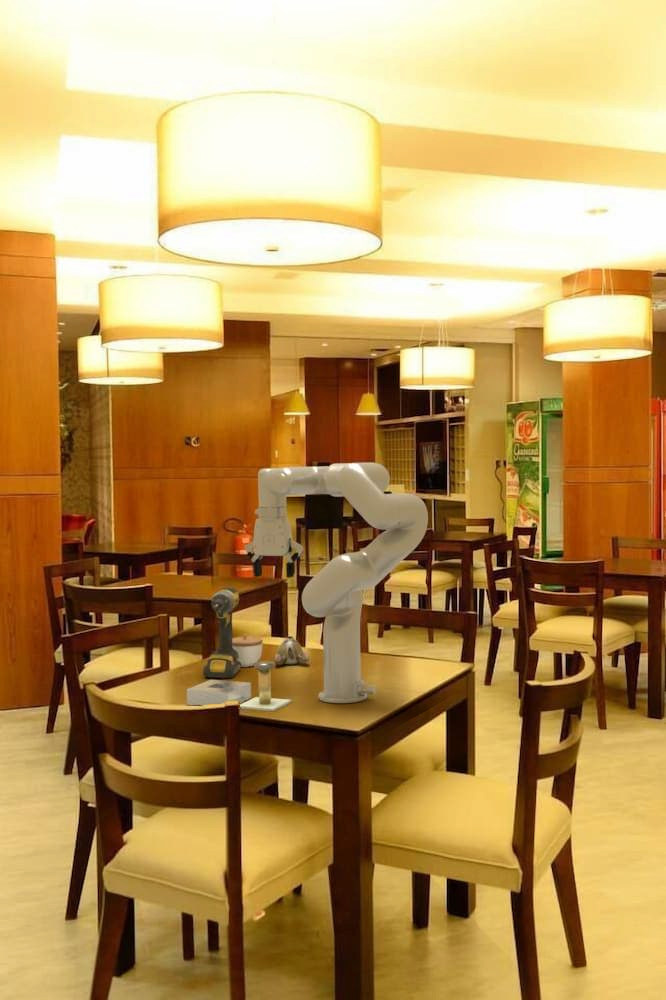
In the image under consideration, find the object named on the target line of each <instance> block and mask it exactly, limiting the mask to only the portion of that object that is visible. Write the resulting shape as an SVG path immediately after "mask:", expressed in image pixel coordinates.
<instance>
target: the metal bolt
mask: <svg viewBox="0 0 666 1000" xmlns="http://www.w3.org/2000/svg"><path fill="white" fill-rule="evenodd" d="M253 668H254V669H255V670H258V672H257V674H258V697H259V704H261V705H267V704H271V698H272V691H271V689H272V686H271V684H272V683H271V680H272V679H271V670H272V669H275V661H269V660H262V661H259V660H258V662H255V663H254V666H253Z"/></svg>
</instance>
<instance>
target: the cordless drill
mask: <svg viewBox="0 0 666 1000" xmlns="http://www.w3.org/2000/svg"><path fill="white" fill-rule="evenodd" d="M210 601H211V602H210V605H211V608H212V610H213V611H214V612H215V614H216V617H217V618H218V627H219V629H218V630H219V632H218V637H219V639H218V641H219V642H218V647H217V648H216V650H214V651H213V652H212V653H211V654H209V655H210V656H209V658H208V660H207V663H206V665H204V667H203V669H202V671H203V672H202V674H203V676H204V677H207V678H212V679H215V678H216V679H218V678H219V679H233V678H234V677H235V676H236V675H238V673H239V672H241V668H242V667H241V662H240V661H237V660H238V659H239V655H238V652H237V651H236V650H234V649H233V647H232V638H234V637H233V636H234V633H233V612H234V610H235V608H236V607H237V606H238V605H239V601H240V594H239V592H238V590H237V589H236V588H234V587H231V586H226V587H224V588H221V589H219V590H218V591H217V592H216V593H215V594H213V595H212V596H211V600H210Z"/></svg>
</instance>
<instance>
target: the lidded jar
mask: <svg viewBox="0 0 666 1000" xmlns="http://www.w3.org/2000/svg"><path fill="white" fill-rule="evenodd" d="M232 647H233V649H234V650H236V651H237V652H238V655H239V659H238V660H237V661H240V662H241V668H248V667H249V666H250V667H254V663H255V662H259V660H260V659H261V657H262V652H263V639H262V638H261V637H256V636H247V634H246V633H245V634H242V636H237V637H232Z"/></svg>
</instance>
